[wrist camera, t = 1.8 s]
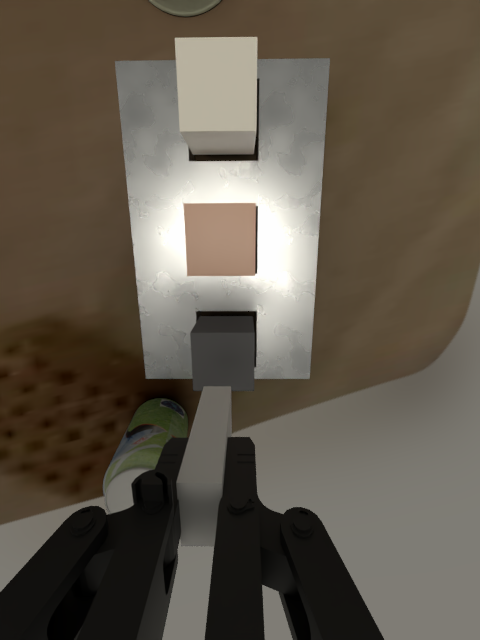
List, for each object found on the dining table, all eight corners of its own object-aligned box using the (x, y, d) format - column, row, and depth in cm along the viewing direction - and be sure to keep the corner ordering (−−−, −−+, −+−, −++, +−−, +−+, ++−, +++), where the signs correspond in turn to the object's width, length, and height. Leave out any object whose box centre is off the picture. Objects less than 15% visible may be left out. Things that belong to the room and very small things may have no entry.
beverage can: (126, 417, 33) (62, 512, 21) (168, 375, 32) (125, 453, 20) (167, 450, 34) (128, 558, 23) (210, 412, 33) (192, 505, 21)
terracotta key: (197, 269, 25) (187, 276, 20) (195, 211, 24) (183, 203, 19) (252, 269, 25) (255, 275, 20) (253, 210, 24) (255, 202, 19)
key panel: (155, 366, 31) (146, 378, 28) (130, 82, 25) (115, 61, 22) (303, 366, 31) (309, 378, 28) (319, 80, 24) (329, 58, 21)
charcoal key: (201, 364, 28) (193, 390, 23) (199, 316, 26) (190, 332, 22) (252, 364, 28) (254, 391, 23) (252, 316, 26) (254, 332, 21)
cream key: (193, 154, 23) (179, 131, 18) (190, 83, 22) (174, 37, 17) (253, 154, 23) (256, 130, 18) (254, 82, 22) (257, 36, 17)
